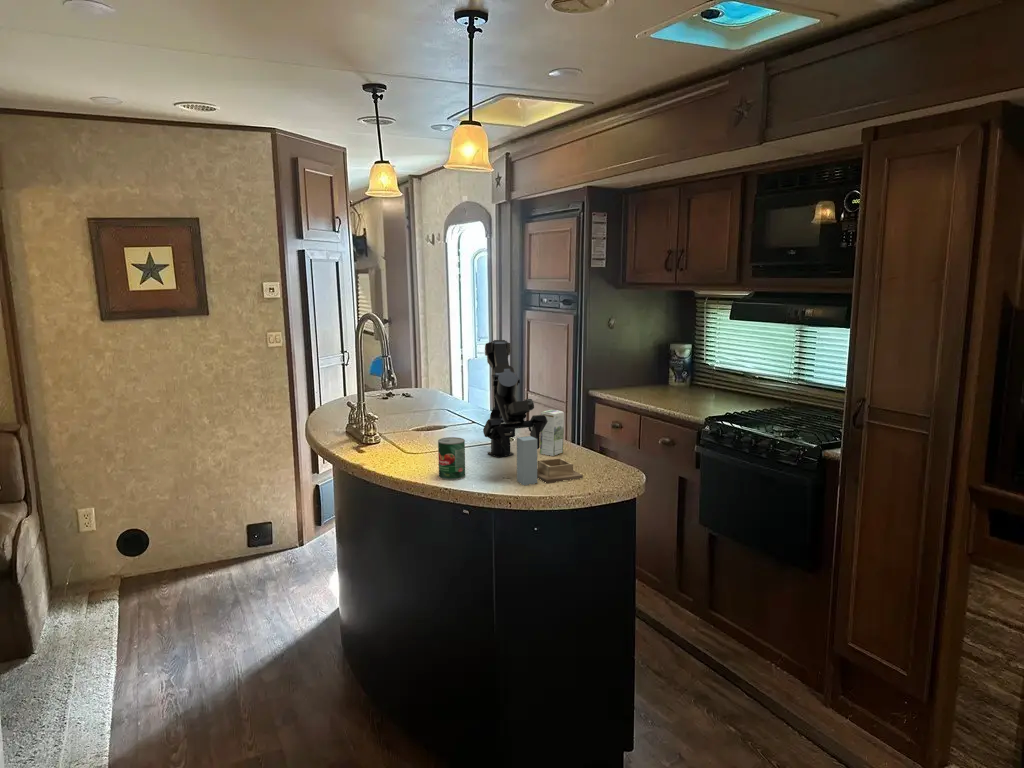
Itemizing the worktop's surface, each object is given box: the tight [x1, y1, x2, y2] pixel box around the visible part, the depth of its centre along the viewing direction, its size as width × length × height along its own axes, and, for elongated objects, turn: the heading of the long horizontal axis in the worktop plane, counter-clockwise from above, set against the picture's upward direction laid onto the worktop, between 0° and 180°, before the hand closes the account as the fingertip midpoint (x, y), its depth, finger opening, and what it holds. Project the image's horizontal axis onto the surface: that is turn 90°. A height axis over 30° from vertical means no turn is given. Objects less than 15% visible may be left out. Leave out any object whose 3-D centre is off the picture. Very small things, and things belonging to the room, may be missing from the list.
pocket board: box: [537, 457, 584, 484], centre depth 203 cm, size 12×12×4 cm
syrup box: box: [539, 409, 565, 457], centre depth 228 cm, size 6×6×14 cm
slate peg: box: [516, 435, 538, 486], centre depth 195 cm, size 4×4×13 cm
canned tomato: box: [437, 436, 466, 481], centre depth 202 cm, size 8×8×11 cm
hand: (524, 449), depth 197 cm, fingers open, 9 cm apart
